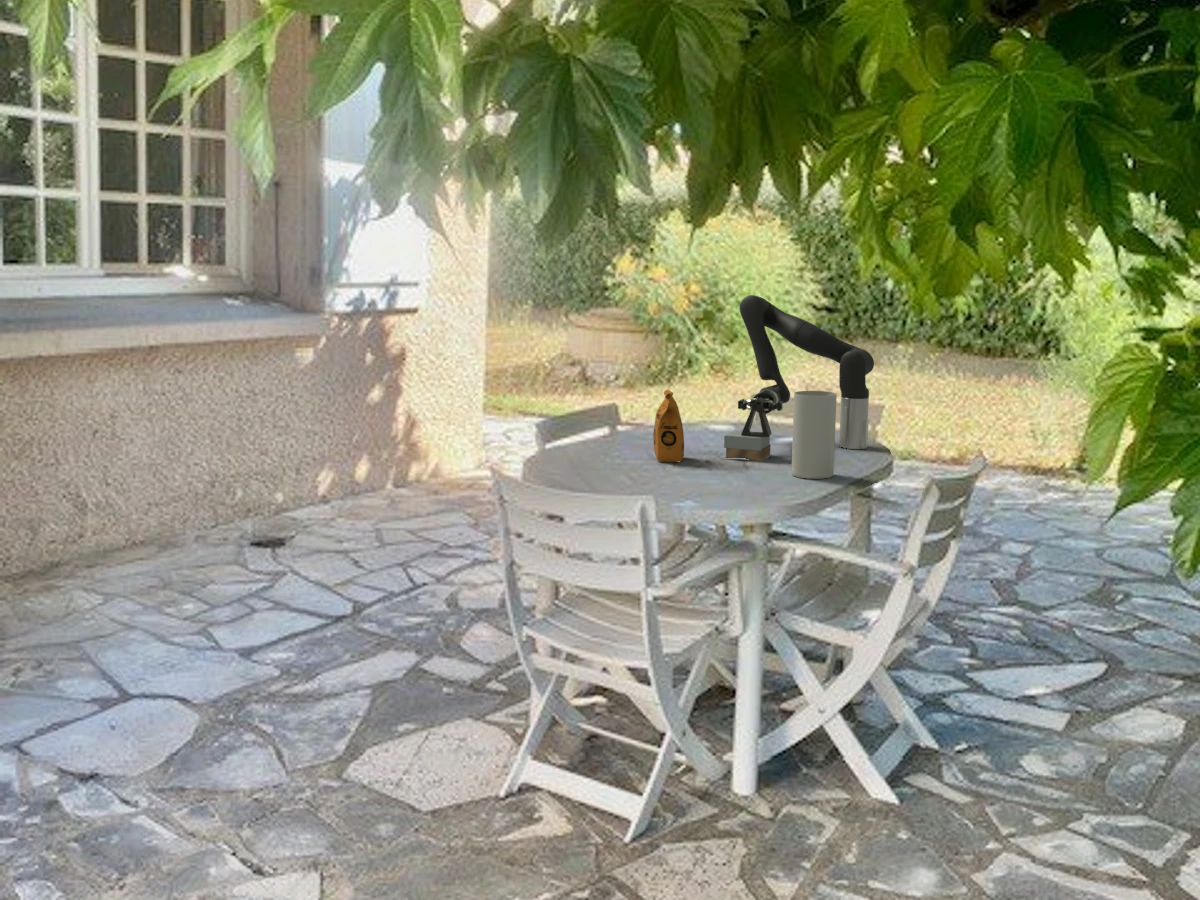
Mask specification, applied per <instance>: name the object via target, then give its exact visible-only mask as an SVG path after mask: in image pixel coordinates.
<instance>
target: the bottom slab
mask: <svg viewBox="0 0 1200 900" xmlns="http://www.w3.org/2000/svg"><path fill="white" fill-rule="evenodd" d="M768 456H769V457H770V456H771V444H770V445H768V446H767V447H765V448H764V449H762V450H746V449H733V448H725V459H726V458H746V459H749V460H752V461H751V462H764V461H765V460H767V459H768V458H767V457H768Z"/></svg>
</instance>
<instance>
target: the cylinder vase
mask: <svg viewBox="0 0 1200 900" xmlns="http://www.w3.org/2000/svg"><path fill="white" fill-rule="evenodd" d="M837 396H838V395H837V393H836V392H832V391H826V390H798V391H794V393H793V416H792V417H793V419H792V420H793V421H792V442H791V443H792V445H791V446H792V447H791V448H792V449H791V450H792V451H791V474H792V475H793V476H794V477H795V476H796V478H799V479H804V478H806V479H805V480H826V479H830V478H832V477H833V476H834V473H835V472H834V471H835V470H834V469H835V447H836V446H835V445H836V442H835V441H836V426H837V424H836V420H837V419H836V418H837V398H838V397H837ZM825 478H826V479H825Z"/></svg>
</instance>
